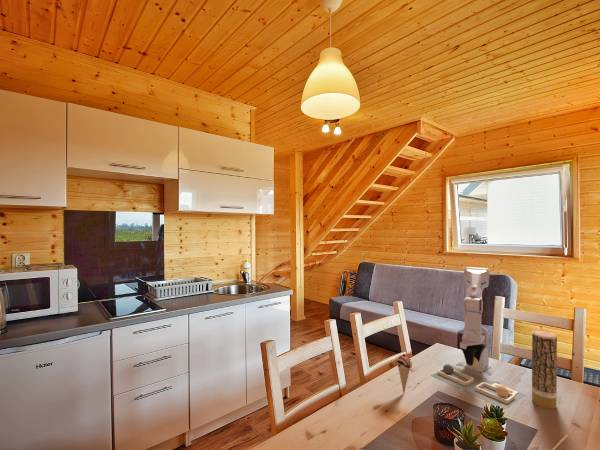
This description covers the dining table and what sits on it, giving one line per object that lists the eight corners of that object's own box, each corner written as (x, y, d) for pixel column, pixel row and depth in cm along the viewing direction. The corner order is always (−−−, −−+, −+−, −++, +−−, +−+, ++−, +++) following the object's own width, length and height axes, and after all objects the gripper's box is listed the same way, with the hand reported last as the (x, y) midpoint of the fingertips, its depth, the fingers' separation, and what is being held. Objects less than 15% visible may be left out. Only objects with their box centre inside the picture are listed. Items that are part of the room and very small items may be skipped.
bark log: (561, 411, 106) (561, 337, 105) (538, 409, 107) (538, 336, 107) (549, 400, 112) (549, 331, 112) (528, 398, 114) (528, 329, 113)
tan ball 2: (498, 392, 116) (498, 382, 116) (510, 397, 113) (510, 386, 113) (493, 396, 114) (493, 385, 114) (505, 401, 111) (505, 390, 111)
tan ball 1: (470, 363, 125) (470, 353, 125) (480, 367, 121) (480, 357, 121) (464, 366, 123) (464, 356, 123) (474, 370, 119) (475, 359, 119)
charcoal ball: (446, 371, 133) (446, 361, 133) (455, 375, 130) (455, 365, 130) (441, 373, 131) (441, 364, 131) (450, 377, 128) (450, 367, 128)
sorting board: (452, 366, 138) (452, 362, 138) (525, 395, 115) (525, 391, 115) (430, 376, 129) (430, 372, 129) (505, 410, 106) (505, 405, 106)
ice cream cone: (394, 395, 115) (394, 355, 115) (397, 388, 120) (397, 349, 120) (410, 399, 113) (410, 358, 113) (412, 391, 118) (413, 352, 118)
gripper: (472, 322, 129) (472, 355, 129) (452, 328, 121) (452, 363, 121) (490, 327, 123) (490, 361, 123) (470, 334, 115) (470, 370, 115)
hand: (472, 363), depth 122 cm, fingers closed on tan ball 1, 4 cm apart
